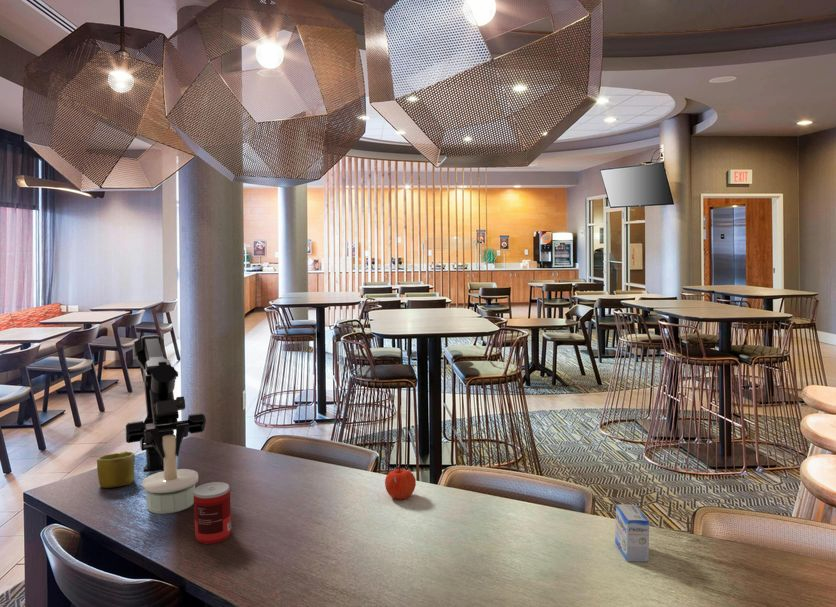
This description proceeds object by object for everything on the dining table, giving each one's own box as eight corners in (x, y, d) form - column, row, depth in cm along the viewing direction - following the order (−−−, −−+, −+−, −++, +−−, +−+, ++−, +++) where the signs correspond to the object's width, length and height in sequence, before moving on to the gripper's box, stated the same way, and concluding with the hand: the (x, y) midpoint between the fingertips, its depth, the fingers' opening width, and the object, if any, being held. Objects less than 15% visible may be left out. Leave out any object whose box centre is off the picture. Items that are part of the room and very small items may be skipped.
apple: (409, 505, 145) (408, 473, 145) (379, 500, 148) (379, 470, 148) (420, 493, 153) (420, 463, 152) (392, 489, 156) (392, 460, 155)
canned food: (221, 525, 136) (219, 479, 135) (238, 536, 130) (236, 488, 129) (189, 536, 130) (187, 488, 129) (204, 548, 125) (202, 498, 124)
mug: (128, 484, 156) (119, 448, 157) (93, 496, 156) (84, 460, 158) (152, 477, 168) (144, 443, 170) (120, 487, 169) (111, 454, 170)
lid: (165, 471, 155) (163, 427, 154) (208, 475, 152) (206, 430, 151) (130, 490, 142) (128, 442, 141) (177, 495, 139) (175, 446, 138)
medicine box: (614, 543, 124) (615, 503, 124) (635, 543, 124) (636, 503, 124) (626, 562, 117) (627, 520, 116) (649, 562, 116) (649, 520, 116)
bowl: (152, 498, 151) (151, 481, 151) (197, 493, 154) (196, 477, 154) (143, 516, 141) (142, 498, 141) (191, 510, 143) (191, 493, 143)
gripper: (124, 391, 144) (129, 447, 135) (203, 382, 153) (212, 434, 145) (123, 415, 152) (128, 469, 143) (199, 405, 161) (208, 456, 152)
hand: (170, 456), depth 145 cm, fingers closed on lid, 3 cm apart
